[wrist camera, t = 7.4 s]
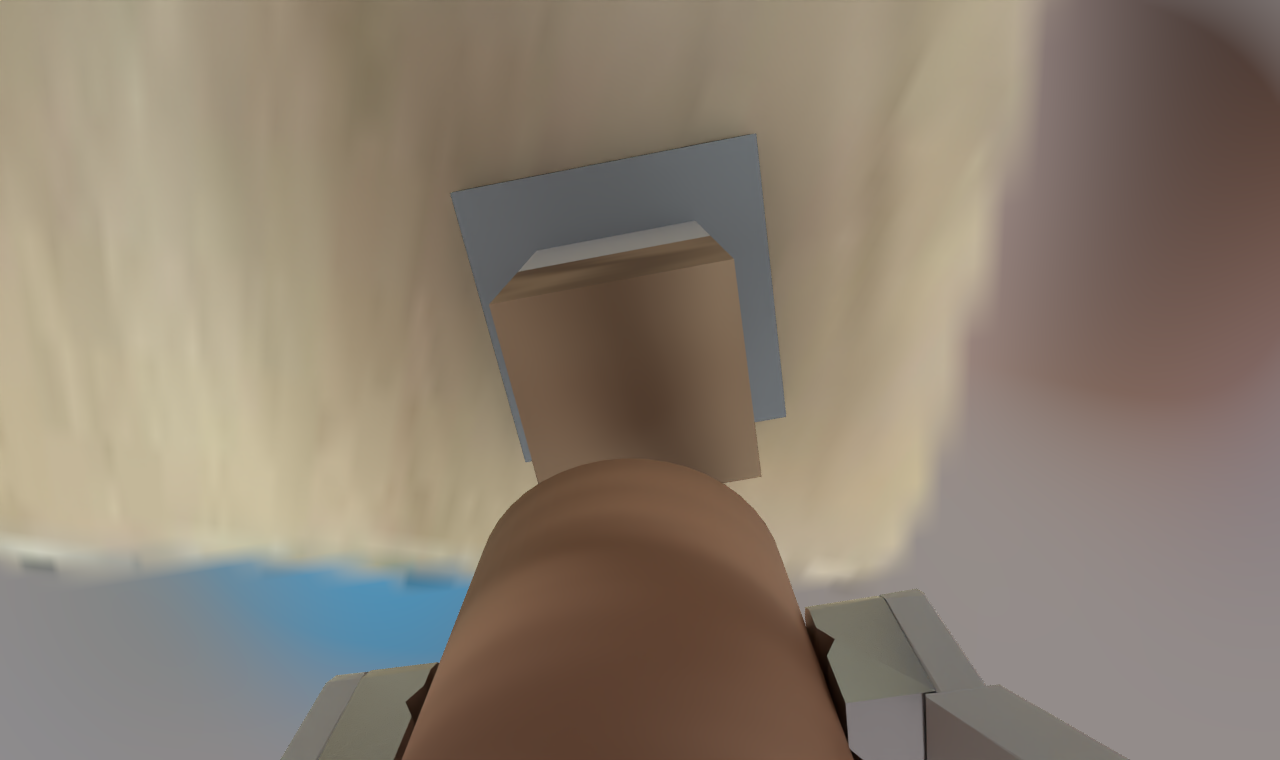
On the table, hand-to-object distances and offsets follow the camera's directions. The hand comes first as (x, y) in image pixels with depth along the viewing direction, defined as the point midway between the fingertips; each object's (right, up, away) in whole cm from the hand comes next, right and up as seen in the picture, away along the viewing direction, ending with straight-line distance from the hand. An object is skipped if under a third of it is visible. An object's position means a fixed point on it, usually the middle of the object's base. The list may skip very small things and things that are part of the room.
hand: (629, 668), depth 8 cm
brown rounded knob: (0, 0, +2) cm, 2 cm away
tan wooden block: (0, +5, +15) cm, 16 cm away
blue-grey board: (0, +8, +21) cm, 22 cm away
